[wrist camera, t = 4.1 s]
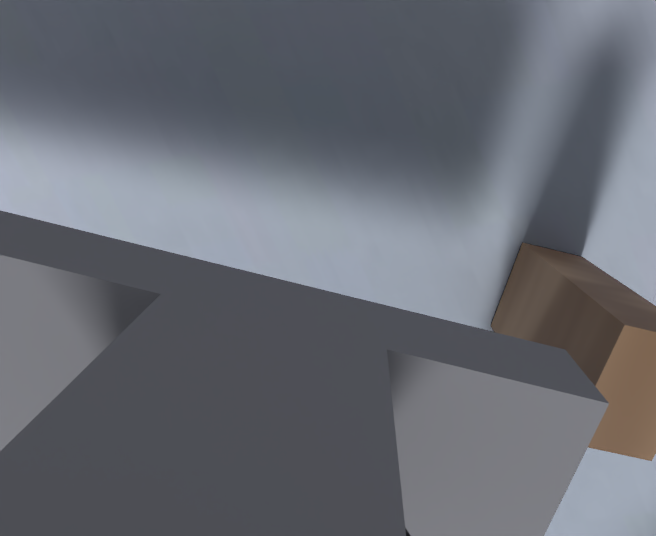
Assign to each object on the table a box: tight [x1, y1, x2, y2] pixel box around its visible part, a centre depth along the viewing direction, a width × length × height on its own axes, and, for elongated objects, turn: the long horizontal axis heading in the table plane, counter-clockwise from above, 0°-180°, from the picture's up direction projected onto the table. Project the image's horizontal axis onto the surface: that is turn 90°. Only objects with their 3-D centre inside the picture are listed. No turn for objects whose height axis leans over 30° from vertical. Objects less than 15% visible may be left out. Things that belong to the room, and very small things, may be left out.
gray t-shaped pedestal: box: [0, 211, 609, 536], centre depth 8 cm, size 16×5×7 cm, turn 77°
